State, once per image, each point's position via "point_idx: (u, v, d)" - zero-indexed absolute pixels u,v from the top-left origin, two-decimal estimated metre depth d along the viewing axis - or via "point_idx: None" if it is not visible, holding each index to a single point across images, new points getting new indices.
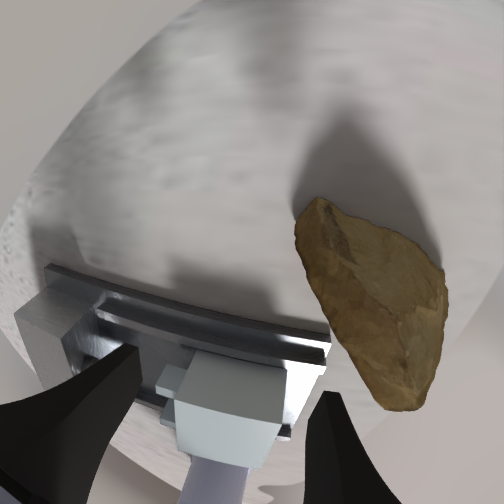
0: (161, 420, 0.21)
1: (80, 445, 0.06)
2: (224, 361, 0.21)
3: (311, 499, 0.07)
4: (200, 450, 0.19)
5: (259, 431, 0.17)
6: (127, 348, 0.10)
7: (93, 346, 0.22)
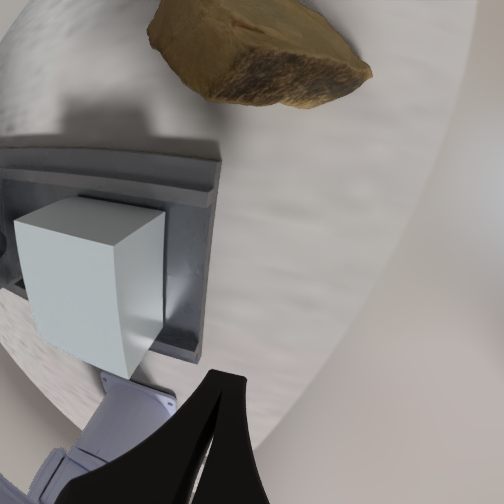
0: None
1: (186, 488, 0.06)
2: (92, 202, 0.15)
3: None
4: (55, 333, 0.14)
5: (93, 270, 0.11)
6: (218, 376, 0.09)
7: None
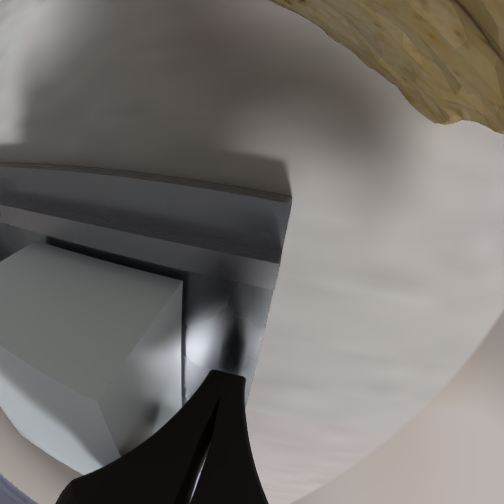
0: None
1: (187, 489, 0.06)
2: (63, 257, 0.09)
3: None
4: (38, 440, 0.08)
5: (71, 415, 0.05)
6: (219, 376, 0.09)
7: None
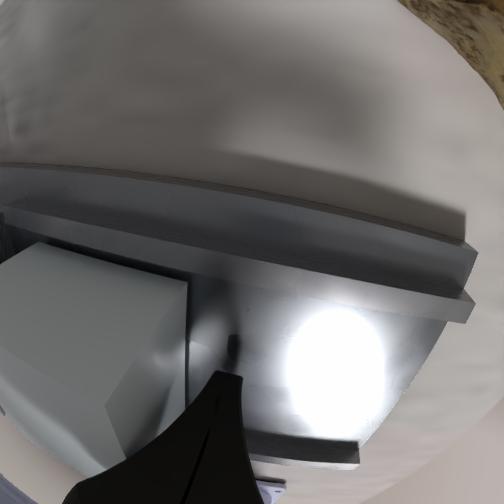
0: None
1: None
2: (67, 258, 0.09)
3: None
4: (40, 442, 0.08)
5: (77, 418, 0.05)
6: (223, 377, 0.09)
7: None
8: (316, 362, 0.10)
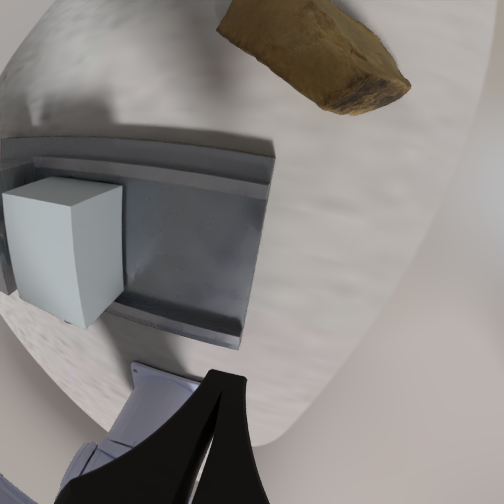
0: None
1: (186, 489, 0.06)
2: (67, 180, 0.17)
3: None
4: (31, 290, 0.16)
5: (57, 228, 0.13)
6: (218, 376, 0.09)
7: None
8: (188, 233, 0.18)
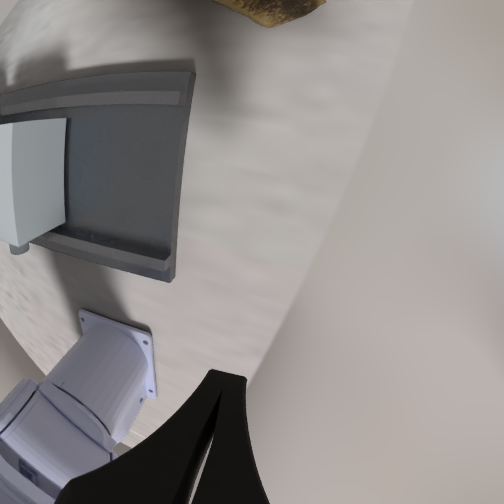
0: None
1: (186, 489, 0.06)
2: None
3: None
4: None
5: (2, 146, 0.12)
6: (218, 376, 0.09)
7: None
8: (117, 153, 0.17)
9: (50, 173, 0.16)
